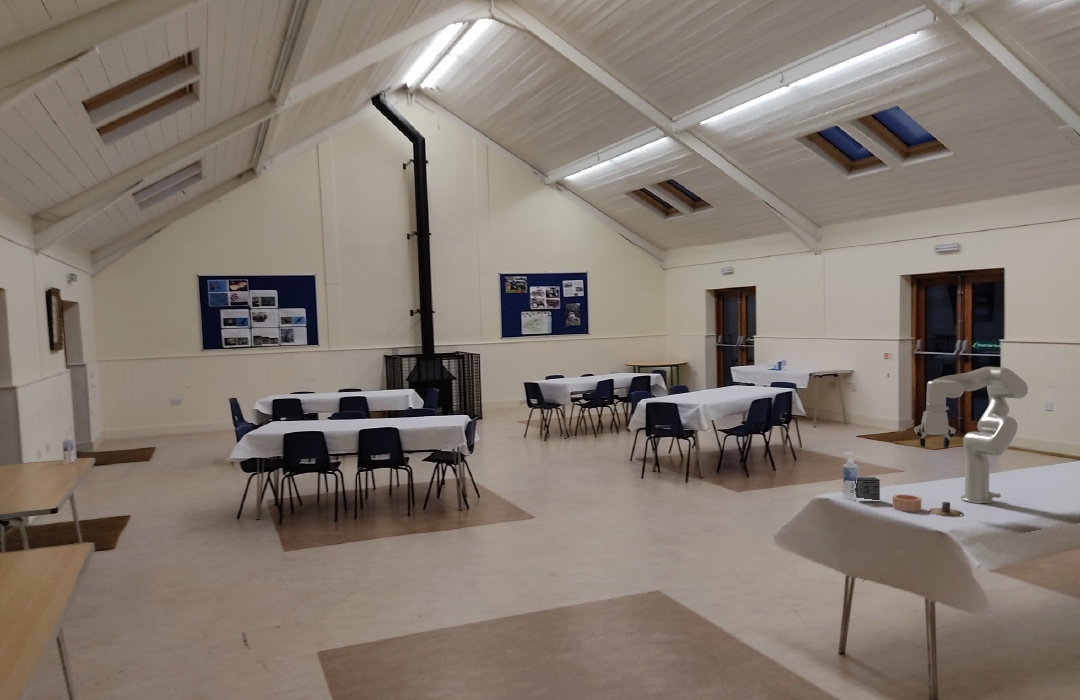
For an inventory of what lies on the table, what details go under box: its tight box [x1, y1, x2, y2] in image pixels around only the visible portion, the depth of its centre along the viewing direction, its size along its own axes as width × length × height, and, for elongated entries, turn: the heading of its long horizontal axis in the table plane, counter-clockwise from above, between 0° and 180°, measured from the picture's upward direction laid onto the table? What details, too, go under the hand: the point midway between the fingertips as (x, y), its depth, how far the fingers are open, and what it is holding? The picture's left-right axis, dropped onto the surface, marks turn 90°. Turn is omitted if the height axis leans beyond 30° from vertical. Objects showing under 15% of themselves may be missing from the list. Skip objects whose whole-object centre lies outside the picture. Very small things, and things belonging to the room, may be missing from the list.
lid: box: [928, 501, 964, 517], centre depth 316 cm, size 13×13×5 cm
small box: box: [855, 476, 881, 501], centre depth 339 cm, size 11×6×10 cm, turn 88°
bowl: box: [892, 494, 923, 513], centre depth 323 cm, size 11×11×5 cm
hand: (934, 447), depth 325 cm, fingers open, 9 cm apart
